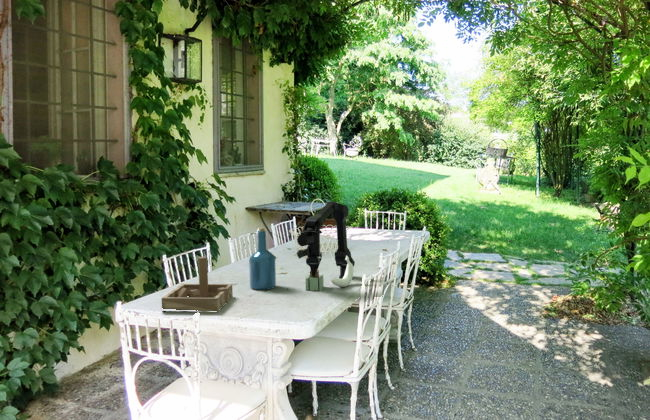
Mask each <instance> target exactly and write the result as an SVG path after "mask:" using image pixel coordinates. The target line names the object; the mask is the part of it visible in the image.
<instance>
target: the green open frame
mask: <svg viewBox="0 0 650 420" xmlns="http://www.w3.org/2000/svg"><path fill="white" fill-rule="evenodd" d="M323 289H324V274H320V275H319V289H318V278H310V274H307V275H306V277H305V291H320V292H321V291H323Z"/></svg>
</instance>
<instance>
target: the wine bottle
mask: <svg viewBox="0 0 650 420" xmlns="http://www.w3.org/2000/svg"><path fill="white" fill-rule="evenodd" d="M276 261H277V257H276V256H275V255H274V254H273V253H272V252H270V250H268V249H267V233H266V230H265V227H260V228H258V231H257V251H256V252H254V253H252V254H251V256H250V257H249V263H248V264H249V265H248V266H249V267H248V268H249V287H250V288H251V289H253V290H257V291H261V290H263V291H265V290H271V289H274V288H275V287H276V286H277V270H276V269H277V268H276V267H277V264H276V263H277V262H276Z"/></svg>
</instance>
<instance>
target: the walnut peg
mask: <svg viewBox="0 0 650 420" xmlns="http://www.w3.org/2000/svg"><path fill="white" fill-rule="evenodd" d="M319 271H320V270H319V269H318V270H317V271H316V274H315V277H313V276H312V273H311V269H310V270H309V275H310V278H318V290H319V278H320V272H319Z"/></svg>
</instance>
